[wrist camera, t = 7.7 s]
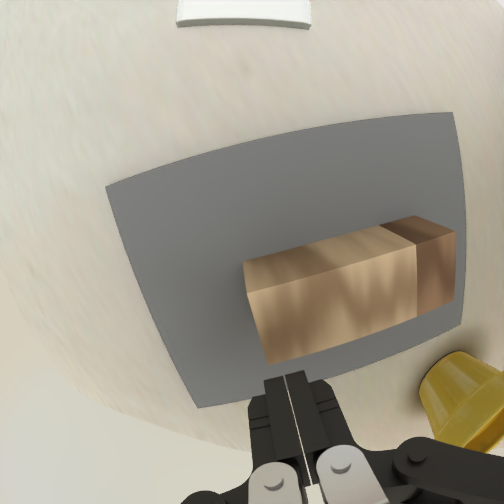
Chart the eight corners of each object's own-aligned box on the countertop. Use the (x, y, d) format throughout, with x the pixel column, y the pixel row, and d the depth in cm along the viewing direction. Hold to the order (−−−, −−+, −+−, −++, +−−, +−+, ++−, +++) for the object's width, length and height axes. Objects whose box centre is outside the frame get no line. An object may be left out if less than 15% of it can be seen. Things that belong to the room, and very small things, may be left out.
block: (246, 293, 14) (455, 231, 14) (242, 261, 18) (414, 215, 18) (267, 365, 15) (453, 300, 15) (259, 323, 20) (417, 274, 20)
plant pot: (482, 368, 25) (528, 416, 16) (416, 423, 26) (451, 482, 17) (472, 314, 22) (537, 368, 13) (391, 383, 23) (438, 459, 14)
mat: (108, 185, 17) (105, 186, 16) (447, 112, 17) (452, 112, 16) (198, 403, 22) (197, 408, 22) (457, 321, 22) (460, 324, 22)
